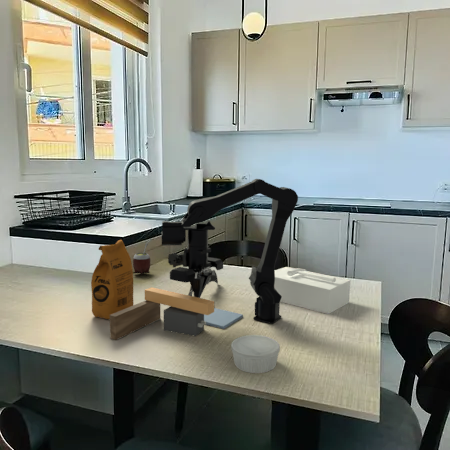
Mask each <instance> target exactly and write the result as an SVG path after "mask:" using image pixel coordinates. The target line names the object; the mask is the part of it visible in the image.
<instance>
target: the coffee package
mask: <svg viewBox="0 0 450 450" xmlns="http://www.w3.org/2000/svg"><path fill="white" fill-rule="evenodd" d="M98 250H99V251H100V252H101V253H102V254H101V255H100V257H99V259H98V263H97V265H96V266H95V268H94V271H93V273H92V276H91V282H90V285H91V286H90V287H91V313H92V314H93V316H94V317H95V318H101V319H106V320H109V321H110V315H111V314H113V313H116V312H118V311H121V310H123V309H126V308H128V307H131V306H133V305H134V271H133V270H134V268H133V261H132V259H131V256H130V253H129V252H128V250H127V247H126V246H125V243H124V241H123V240H122V239H119V240H117V241H116V242H115V244H104V245H99V246H98Z"/></svg>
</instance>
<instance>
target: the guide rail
mask: <svg viewBox="0 0 450 450" xmlns="http://www.w3.org/2000/svg"><path fill="white" fill-rule="evenodd" d="M159 320H161V304H160V303H156V302H152V301H147V300H143V301H141V302H139V303H136V304H133V306H131V307H128V308H126V309H123V310H121V311H118V312H116V313H113V314H111V315H110V319H109V333H110V334H109V335H110V336H109V339H111V340H114V341H117V340H120V339H121V338H124V337H126V336H128V335H130V334H132V333H134V332H136V331H137V330H140V329H142V328H144V327H147V326H149V325H150V324H153V323H156V322H158V321H159Z"/></svg>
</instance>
